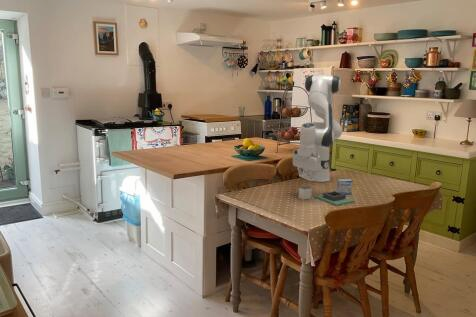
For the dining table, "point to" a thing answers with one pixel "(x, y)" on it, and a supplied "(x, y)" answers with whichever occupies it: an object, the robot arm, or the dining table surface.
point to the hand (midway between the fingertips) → (305, 176)
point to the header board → (334, 198)
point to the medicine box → (344, 186)
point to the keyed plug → (305, 192)
